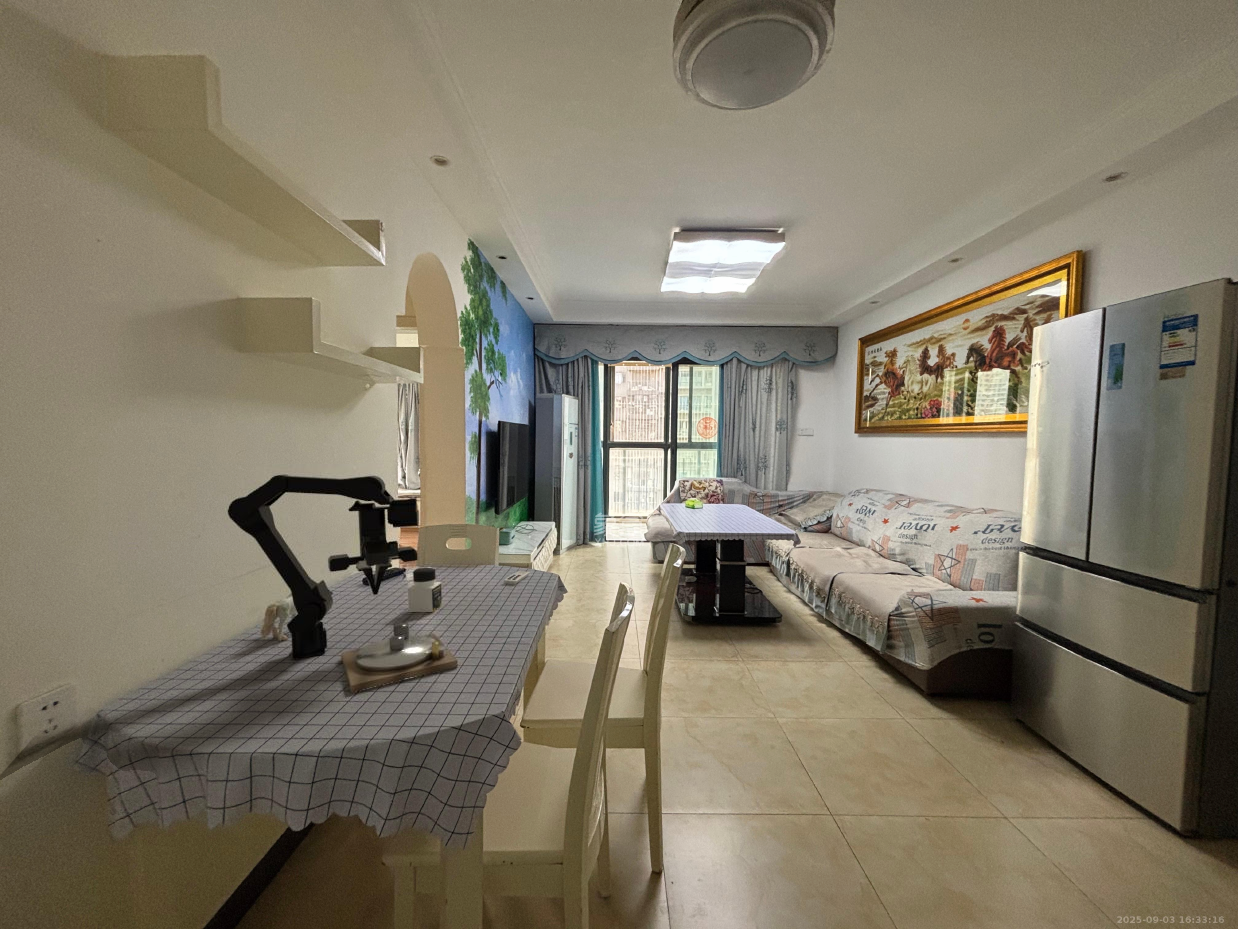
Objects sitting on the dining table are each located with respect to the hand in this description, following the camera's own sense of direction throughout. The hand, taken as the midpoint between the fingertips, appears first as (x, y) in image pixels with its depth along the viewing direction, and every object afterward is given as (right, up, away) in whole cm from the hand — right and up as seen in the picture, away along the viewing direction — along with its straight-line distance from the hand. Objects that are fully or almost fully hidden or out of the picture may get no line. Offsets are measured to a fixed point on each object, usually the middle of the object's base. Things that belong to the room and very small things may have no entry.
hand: (375, 594), depth 125 cm
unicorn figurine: (-29, -13, +10) cm, 33 cm away
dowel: (+19, -10, -13) cm, 25 cm away
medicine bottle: (+2, -11, +28) cm, 30 cm away
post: (+10, -9, -11) cm, 17 cm away
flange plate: (+11, -10, -11) cm, 19 cm away
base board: (+10, -12, -11) cm, 19 cm away
